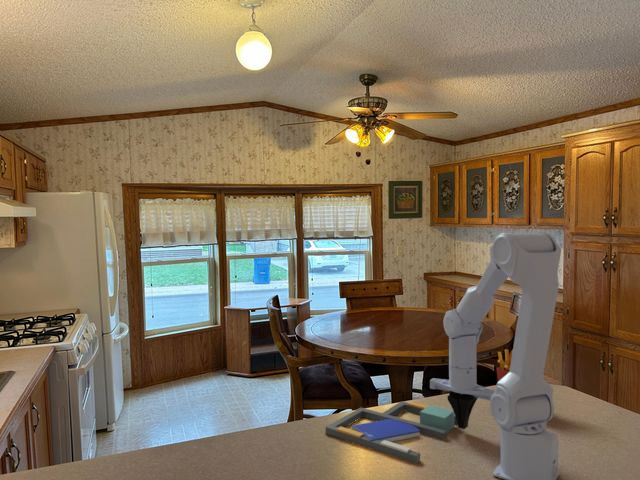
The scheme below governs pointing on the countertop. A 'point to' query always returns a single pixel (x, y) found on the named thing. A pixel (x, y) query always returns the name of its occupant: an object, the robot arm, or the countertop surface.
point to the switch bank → (408, 409)
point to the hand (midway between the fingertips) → (462, 427)
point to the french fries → (504, 364)
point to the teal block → (437, 417)
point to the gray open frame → (384, 446)
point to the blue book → (387, 430)
